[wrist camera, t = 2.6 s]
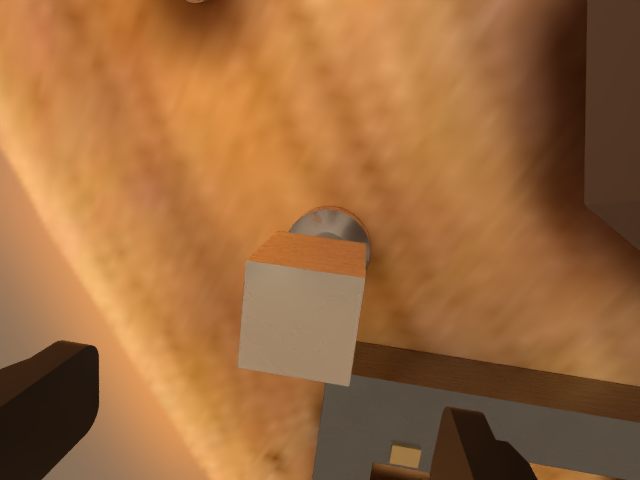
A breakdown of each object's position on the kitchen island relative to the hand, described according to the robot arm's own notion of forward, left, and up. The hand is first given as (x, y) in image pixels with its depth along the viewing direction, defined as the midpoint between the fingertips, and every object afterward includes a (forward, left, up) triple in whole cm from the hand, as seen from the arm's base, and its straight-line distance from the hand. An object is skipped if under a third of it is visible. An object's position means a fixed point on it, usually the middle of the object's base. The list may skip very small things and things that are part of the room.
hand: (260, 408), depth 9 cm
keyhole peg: (0, 0, -16) cm, 16 cm away
